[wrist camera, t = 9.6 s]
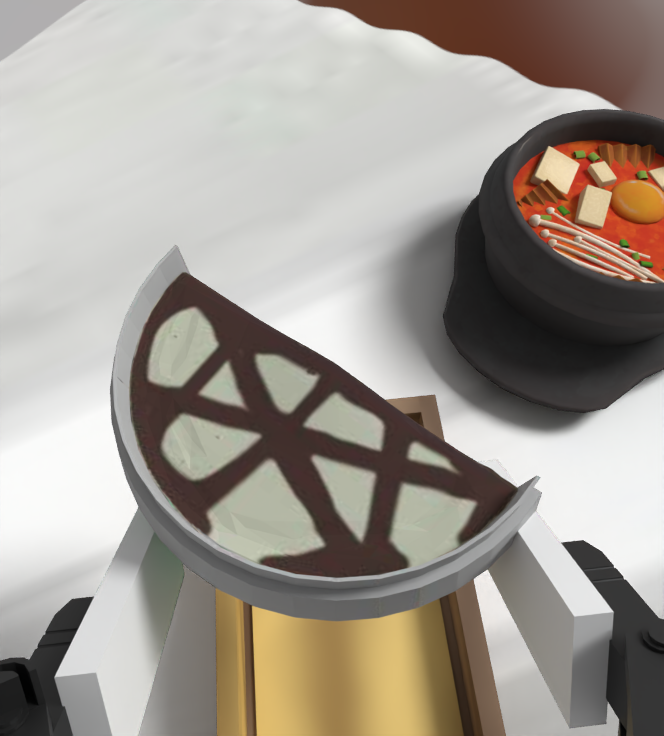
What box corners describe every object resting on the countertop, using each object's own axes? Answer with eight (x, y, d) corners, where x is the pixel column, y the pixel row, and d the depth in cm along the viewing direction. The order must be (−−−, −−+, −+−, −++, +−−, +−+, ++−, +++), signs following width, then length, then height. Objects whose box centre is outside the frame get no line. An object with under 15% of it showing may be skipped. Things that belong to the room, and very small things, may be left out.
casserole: (631, 482, 35) (708, 431, 28) (376, 330, 41) (384, 253, 33) (762, 224, 44) (846, 133, 37) (540, 128, 50) (575, 32, 42)
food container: (118, 504, 23) (-19, 393, 14) (222, 391, 25) (161, 235, 16) (376, 724, 19) (409, 759, 10) (470, 569, 22) (562, 490, 13)
